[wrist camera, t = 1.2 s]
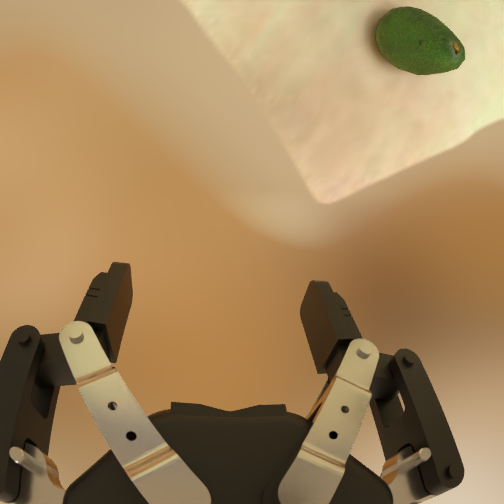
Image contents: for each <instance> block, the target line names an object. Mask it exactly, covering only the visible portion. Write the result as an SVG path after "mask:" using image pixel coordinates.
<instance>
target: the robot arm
mask: <svg viewBox="0 0 504 504" xmlns="http://www.w3.org/2000/svg"><path fill="white" fill-rule="evenodd" d="M132 296H133V290H132V280H131V267H130V264H128V263H119V262H113V263H112V264H111V267H110V269H109V271H108V273H104V272H101V273H100V274H98V275H97V276H96V277H95V278H94V279H93V281H92V282H91V285H90V287H89V289H88V291H87V293H86V296H85V297H84V299H83V301H82V304H81V306H80V308H79V310H78V313H77V315H76V317H75V320H74V321H73V322H70V323H68V324H66V325H65V326H64V327H63V328H62V329H61V331H60V333H55V334H45V335H40V333H39V331H38V330H37V329H36V328H35V327H33V326H30V325H25V326H21V327H19V328H17V329H16V330H15V331H14V332H13V333H12V335H11V337H10V339H9V341H8V344H7V346H6V348H5V351H4V353H3V356H2V358H1V361H0V501H1V502H3V503H6V504H418V503H421V502H423V501H426V500H428V499H430V498H433V497H435V496H437V495H439V494H442V493H444V492H446V491H448V490H450V489H452V488H455V487H456V486H458V485H459V484H460V483H461V482H462V480H463V477H464V467H463V463H462V460H461V458H460V454H459V452H458V449H457V446H456V443H455V441H454V438H453V435H452V432H451V430H450V427H449V425H448V422H447V420H446V417H445V415H444V412H443V410H442V407H441V405H440V403H439V400H438V398H437V396H436V393H435V391H434V389H433V387H432V384H431V382H430V380H429V378H428V375H427V374H426V371H425V369H424V367H423V365H422V363H421V361H420V359H419V357H418V356H417V355H416V354H415V353H414V352H412V351H411V350H409V349H400V350H398V351H397V352H396V354H395V355H394V356H392V355H388V354H383V353H379V352H378V349H377V348H376V346H375V345H374V344H372V343H371V342H370V341H368V340H365V339H363V338H362V336H361V334H360V332H359V330H358V328H357V325H356V324H355V321H354V319H353V317H351V313H350V311H349V310H348V307H347V305H346V303H345V301H344V299H343V298H342V297H341V296H340V295H339V294H338V293H335V292H333V291H332V289H331V287H330V284H329V283H328V282H327V281H314V280H312V281H311V282H310V283H309V286H308V289H307V291H306V294H305V296H304V299H303V302H302V304H301V308H300V316H301V320H302V324H303V327H304V330H305V333H306V337H307V340H308V343H309V346H310V350H311V353H312V356H313V360H314V363H315V366H316V369H317V373H318V374H324V373H327V375H328V379H327V380H326V382H325V384H324V386H323V388H322V390H321V392H320V393H319V395H318V397H317V399H316V401H315V403H314V405H313V406H312V408H311V410H310V412H309V413H308V415H307V416H306V418H304V417H302V416H299V415H297V414H294V413H290V412H287V411H286V406H285V404H280V405H257V406H253V407H249V408H245V409H240V410H236V411H224V410H221V409H217V408H213V407H209V406H205V405H201V404H192V403H179V402H178V403H177V402H171V409H168V410H163V411H159V412H156V413H154V414H151V415H149V416H148V417H147V416H146V415H145V413H144V412H143V410H142V409H141V407H140V406H139V404H138V403H137V401H136V400H135V398H134V397H133V395H132V394H131V392H130V391H129V389H128V388H127V386H126V384H125V382H124V381H123V379H122V377H121V376H120V374H119V373H118V371H117V370H116V368H115V367H112V365H111V364H110V362H112V363H116V361H117V357H118V353H119V349H120V344H121V341H122V336H123V333H124V329H125V326H126V322H127V318H128V315H129V311H130V308H131V304H132ZM75 384H77V386H78V389H79V391H80V393H81V395H82V397H83V399H84V401H85V403H86V405H87V407H88V409H89V411H90V413H91V415H92V417H93V419H94V421H95V422H96V424H97V426H98V428H99V430H100V431H101V433H102V435H103V437H104V438H105V440H106V442H107V443H108V445H109V447H110V448H111V449H110V450H109V451H108V452H107V453H106V454H105V455H103V457H101V458H100V459H99V460H98V461H97V462H96V463H95V464H94V465H92V466H91V467H90V468H89V469H88V470H87V471H85V472H84V473H83V474H82V475H81V476H80V477H79V478H77V479H76V480H75V481H74V482H73V483H72V484H71V485H70V486H69V487H68V488H67V490H66V491H65V489H64V488H63V487H62V485H61V483H60V480H59V472H58V468H57V466H56V464H55V463H54V462H53V460H52V459H50V458H49V457H48V450H49V443H50V436H51V430H52V424H53V418H54V413H55V408H56V403H57V398H58V394H59V390H60V386H65V385H75ZM399 392H400V394H401V397H402V400H403V402H404V405H405V411H403V408H402V406H401V403H400V400H399V397H398V393H399ZM369 404H370V407H371V410H372V414H373V417H374V420H375V424H376V427H377V431H378V434H379V438H380V441H381V445H382V449H383V452H384V456H385V460H386V462H385V463H384V465H383V469H382V473H381V475H380V477H379V476H378V475H376V474H375V473H374V472H372V471H371V470H370V469H369V468H367V467H366V466H365V465H363V464H362V463H361V462H359V461H358V460H357V459H356V458H354V457H353V456H351V455H350V451H351V449H352V447H353V444H354V442H355V439H356V437H357V434H358V432H359V429H360V427H361V424H362V421H363V419H364V416H365V413H366V410H367V407H368V405H369Z"/></svg>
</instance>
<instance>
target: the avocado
mask: <svg viewBox="0 0 504 504" xmlns="http://www.w3.org/2000/svg"><path fill="white" fill-rule="evenodd" d="M376 43H377V45H378V48H379V50H380V52H381V53H382V54H383V55H384V56H385V57H386V58H387V59H388V60H389V62H390V63H391V64H393V65H394V66H395V67H397V68H399V69H401V70H404V71H407V72H410V73H413V74H416V75H430V74H437V73H444V72H448V71H451V70H454V69H457V68H459V66H460V65H461V64H462V62H463V61H464V60H465V50H464V47H463V45H462V43H461V42H460V40H459V39H458V38H457V37H456V36H455V34H454V33H453V32H452V31H451V30H450V29H449V28H448V27H447V26H445V25H444V24H443V23H442V22H441V21H440V20H439V19H437V18H436V17H434V16H433V15H431V14H429V13H427V12H425V11H423V10H421V9H418V8H413V7H399V8H395V9H391V10H390V11H389V12H388V13H387V14H386V15H385V16H384V17H383V18H382V19H381V20H380V21H379V24H378V26H377V29H376Z"/></svg>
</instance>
